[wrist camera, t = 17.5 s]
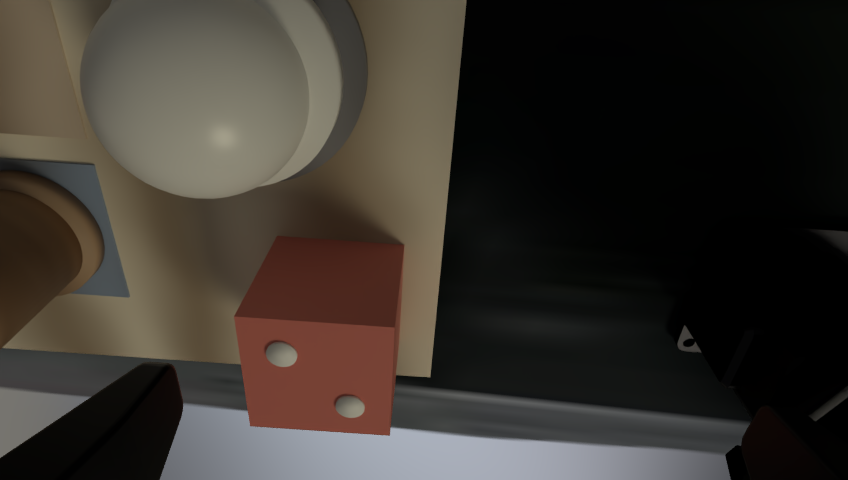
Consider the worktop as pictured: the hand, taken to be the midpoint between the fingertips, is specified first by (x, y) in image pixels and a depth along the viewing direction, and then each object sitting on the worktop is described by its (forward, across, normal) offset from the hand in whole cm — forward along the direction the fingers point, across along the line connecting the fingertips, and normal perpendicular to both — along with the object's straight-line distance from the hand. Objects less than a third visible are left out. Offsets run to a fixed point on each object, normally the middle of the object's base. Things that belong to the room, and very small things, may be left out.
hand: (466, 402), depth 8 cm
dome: (+11, +7, -2) cm, 13 cm away
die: (+13, +4, +7) cm, 15 cm away
